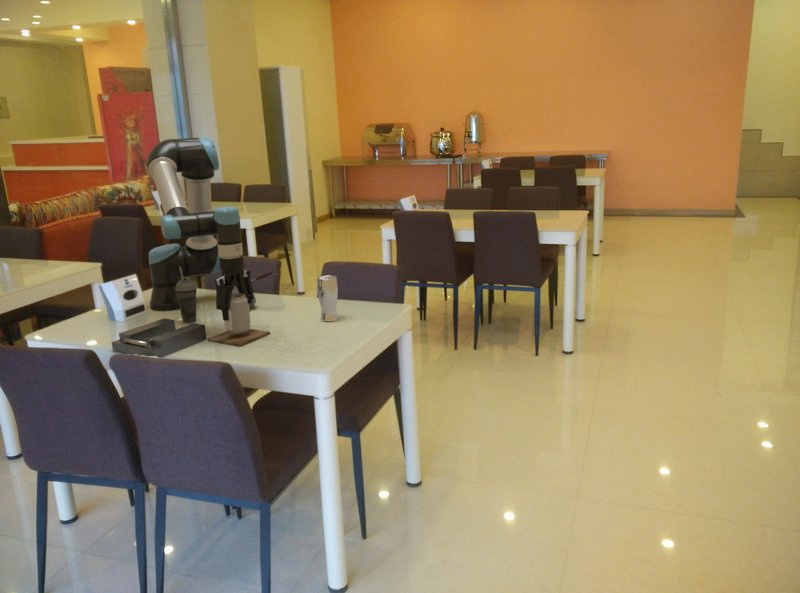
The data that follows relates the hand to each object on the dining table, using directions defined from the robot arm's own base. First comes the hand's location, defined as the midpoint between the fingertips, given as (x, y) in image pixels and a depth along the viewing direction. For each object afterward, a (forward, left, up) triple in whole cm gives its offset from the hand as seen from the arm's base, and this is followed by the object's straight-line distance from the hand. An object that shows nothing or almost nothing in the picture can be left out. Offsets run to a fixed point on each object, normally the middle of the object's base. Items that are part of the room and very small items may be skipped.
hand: (238, 326), depth 224 cm
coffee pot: (-20, +29, -4) cm, 35 cm away
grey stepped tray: (-18, -17, -4) cm, 25 cm away
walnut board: (0, 0, -4) cm, 4 cm away
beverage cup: (-30, +7, -4) cm, 31 cm away
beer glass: (+15, +29, -4) cm, 33 cm away
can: (0, 0, -2) cm, 2 cm away
